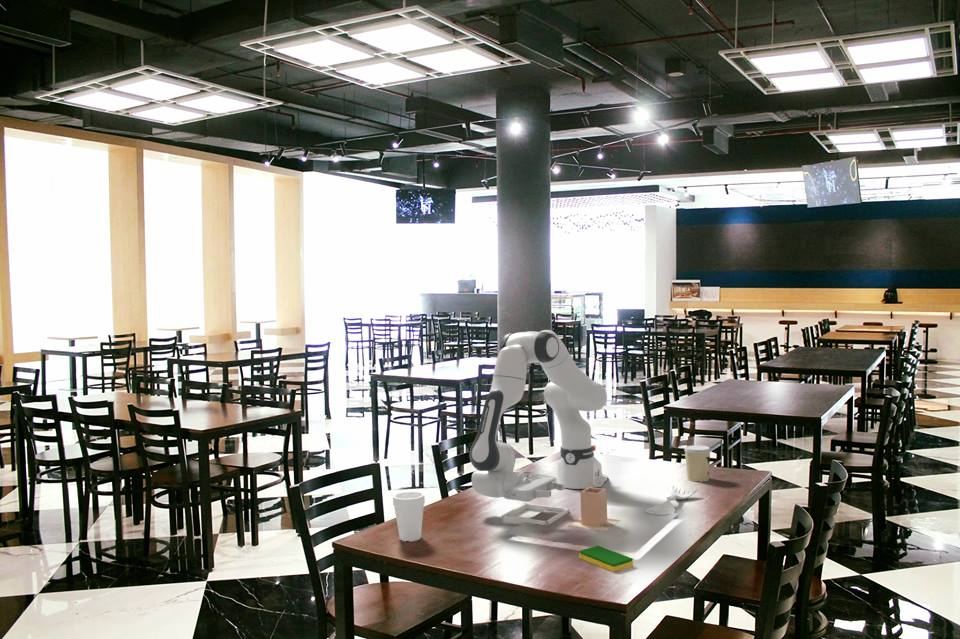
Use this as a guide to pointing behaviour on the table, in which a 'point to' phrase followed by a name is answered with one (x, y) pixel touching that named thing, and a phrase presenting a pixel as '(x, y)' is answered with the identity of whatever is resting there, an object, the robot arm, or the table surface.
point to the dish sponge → (606, 558)
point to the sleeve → (593, 506)
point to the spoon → (667, 505)
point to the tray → (531, 514)
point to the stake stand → (603, 528)
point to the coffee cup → (697, 462)
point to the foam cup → (409, 514)
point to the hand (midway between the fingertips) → (556, 490)
